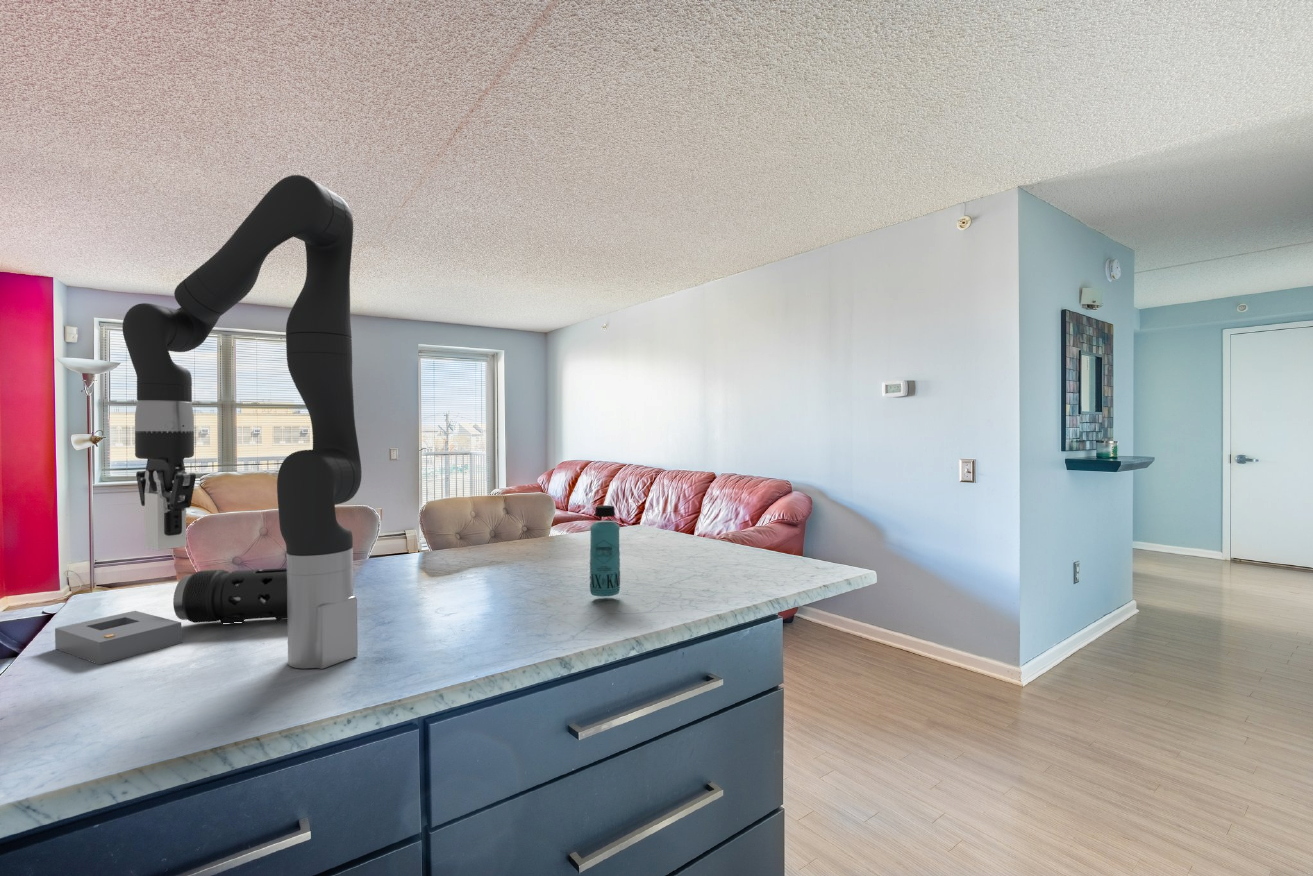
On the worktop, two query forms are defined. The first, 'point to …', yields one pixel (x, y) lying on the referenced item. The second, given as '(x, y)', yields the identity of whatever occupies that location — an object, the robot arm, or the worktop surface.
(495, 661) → the worktop surface
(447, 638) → the worktop surface
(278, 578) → the muzzle brake
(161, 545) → the block
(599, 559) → the beverage bottle
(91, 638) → the outlet block
